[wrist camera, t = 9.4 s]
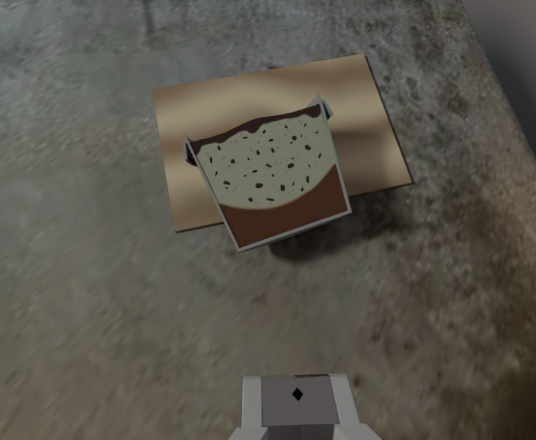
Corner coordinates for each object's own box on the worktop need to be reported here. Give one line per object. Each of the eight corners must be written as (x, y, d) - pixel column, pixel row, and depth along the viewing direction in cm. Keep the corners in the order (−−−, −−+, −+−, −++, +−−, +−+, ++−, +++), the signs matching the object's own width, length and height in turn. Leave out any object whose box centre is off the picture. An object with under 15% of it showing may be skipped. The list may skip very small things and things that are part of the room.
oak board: (410, 184, 37) (411, 182, 36) (175, 232, 34) (174, 231, 34) (362, 56, 41) (363, 53, 41) (153, 92, 39) (152, 89, 39)
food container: (346, 217, 37) (309, 120, 38) (369, 206, 30) (324, 90, 32) (220, 261, 35) (185, 158, 36) (218, 258, 29) (176, 134, 30)
